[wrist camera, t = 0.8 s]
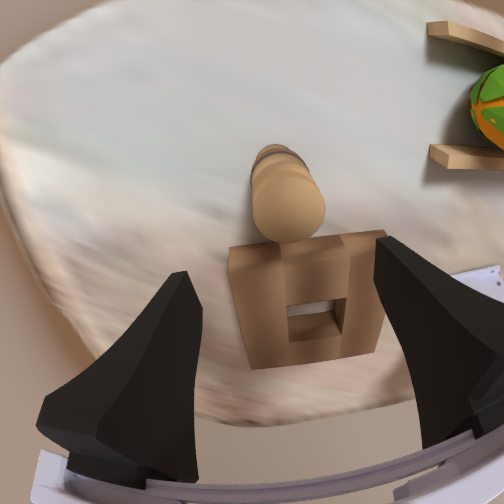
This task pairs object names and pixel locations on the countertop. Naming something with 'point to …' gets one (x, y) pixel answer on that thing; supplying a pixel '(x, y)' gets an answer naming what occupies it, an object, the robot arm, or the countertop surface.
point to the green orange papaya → (489, 105)
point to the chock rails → (455, 153)
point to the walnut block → (307, 298)
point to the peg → (285, 196)
